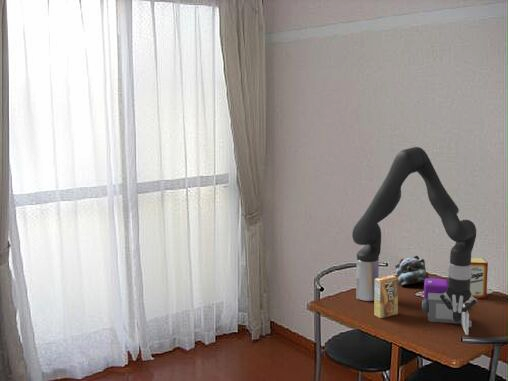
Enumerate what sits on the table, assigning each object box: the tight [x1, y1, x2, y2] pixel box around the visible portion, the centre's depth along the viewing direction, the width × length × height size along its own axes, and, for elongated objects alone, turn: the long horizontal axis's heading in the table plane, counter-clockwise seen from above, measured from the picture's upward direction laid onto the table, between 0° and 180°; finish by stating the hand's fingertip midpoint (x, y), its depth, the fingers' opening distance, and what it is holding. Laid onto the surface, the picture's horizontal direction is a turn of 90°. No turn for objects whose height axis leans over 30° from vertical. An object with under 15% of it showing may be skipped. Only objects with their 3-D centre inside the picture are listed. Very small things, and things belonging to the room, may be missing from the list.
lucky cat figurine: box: [394, 255, 430, 287], centre depth 252 cm, size 15×12×14 cm
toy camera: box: [423, 277, 448, 299], centre depth 229 cm, size 11×14×10 cm
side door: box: [460, 302, 473, 336], centre depth 200 cm, size 11×2×8 cm, turn 168°
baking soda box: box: [470, 257, 489, 299], centre depth 234 cm, size 10×6×16 cm
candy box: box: [373, 274, 399, 319], centre depth 216 cm, size 9×4×15 cm, turn 116°
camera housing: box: [421, 293, 462, 325], centre depth 211 cm, size 14×7×10 cm, turn 76°
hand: (457, 321), depth 198 cm, fingers closed
